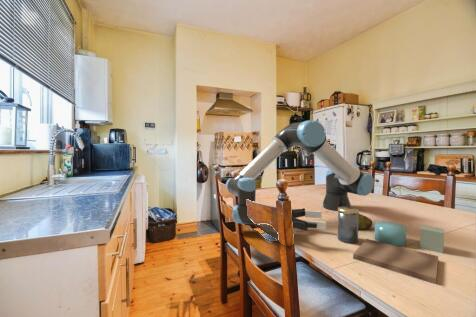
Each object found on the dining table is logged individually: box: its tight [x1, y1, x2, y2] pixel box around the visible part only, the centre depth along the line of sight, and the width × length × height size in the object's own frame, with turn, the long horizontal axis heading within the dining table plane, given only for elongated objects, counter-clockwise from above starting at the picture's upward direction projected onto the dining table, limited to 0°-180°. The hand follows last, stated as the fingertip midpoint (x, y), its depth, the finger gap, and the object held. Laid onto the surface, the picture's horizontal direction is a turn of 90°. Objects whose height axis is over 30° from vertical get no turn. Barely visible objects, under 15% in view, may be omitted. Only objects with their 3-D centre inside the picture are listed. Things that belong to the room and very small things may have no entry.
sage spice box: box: [419, 224, 445, 254], centre depth 78 cm, size 6×5×7 cm
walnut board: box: [352, 238, 439, 285], centre depth 71 cm, size 20×16×2 cm
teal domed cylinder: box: [374, 220, 407, 247], centre depth 85 cm, size 10×10×6 cm
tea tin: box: [337, 206, 360, 245], centre depth 86 cm, size 7×7×12 cm
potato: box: [358, 213, 373, 230], centre depth 99 cm, size 8×13×8 cm, turn 53°
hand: (323, 219), depth 88 cm, fingers open, 13 cm apart
